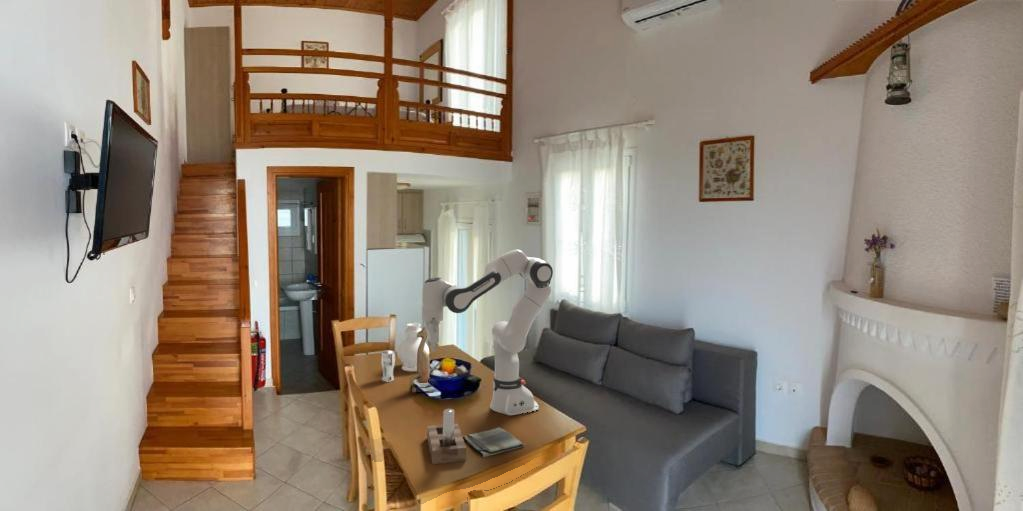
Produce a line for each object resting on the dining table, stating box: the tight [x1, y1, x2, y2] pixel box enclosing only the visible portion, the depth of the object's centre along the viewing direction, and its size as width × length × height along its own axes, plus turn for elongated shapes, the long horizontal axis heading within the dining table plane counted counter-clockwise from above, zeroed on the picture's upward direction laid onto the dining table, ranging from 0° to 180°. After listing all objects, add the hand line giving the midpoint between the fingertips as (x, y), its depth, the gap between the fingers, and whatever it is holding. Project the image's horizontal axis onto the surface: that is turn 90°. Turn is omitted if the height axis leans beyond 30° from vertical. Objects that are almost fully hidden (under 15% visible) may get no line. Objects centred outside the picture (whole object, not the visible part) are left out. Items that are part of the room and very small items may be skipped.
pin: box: [442, 408, 456, 447], centre depth 179 cm, size 4×4×16 cm
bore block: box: [426, 423, 467, 465], centre depth 184 cm, size 20×12×5 cm, turn 15°
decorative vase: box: [396, 322, 430, 372], centre depth 275 cm, size 18×18×25 cm
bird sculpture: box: [411, 326, 431, 393], centre depth 243 cm, size 11×12×32 cm
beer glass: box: [381, 349, 396, 383], centre depth 254 cm, size 7×7×15 cm
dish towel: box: [462, 426, 525, 458], centre depth 191 cm, size 19×18×3 cm
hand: (431, 347), depth 208 cm, fingers open, 8 cm apart
